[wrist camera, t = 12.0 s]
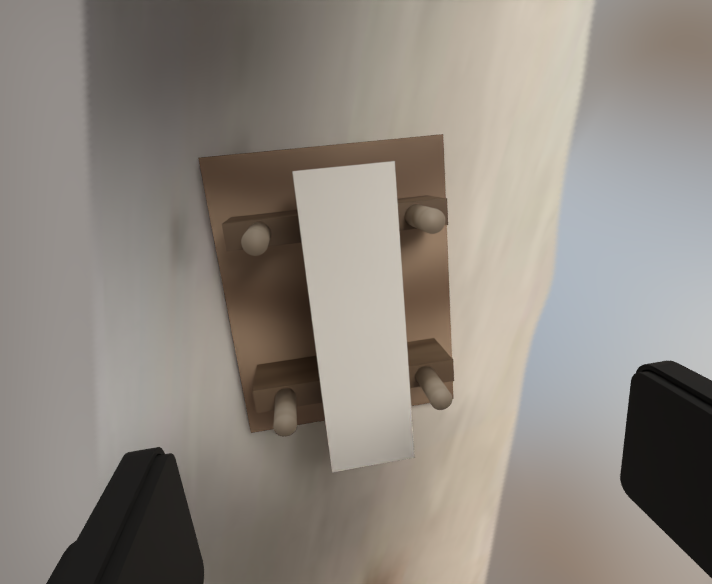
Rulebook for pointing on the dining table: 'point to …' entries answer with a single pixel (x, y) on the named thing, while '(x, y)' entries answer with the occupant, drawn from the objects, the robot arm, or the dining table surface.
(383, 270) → the white rectangular block
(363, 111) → the dining table surface
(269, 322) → the walnut rack
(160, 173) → the dining table surface
